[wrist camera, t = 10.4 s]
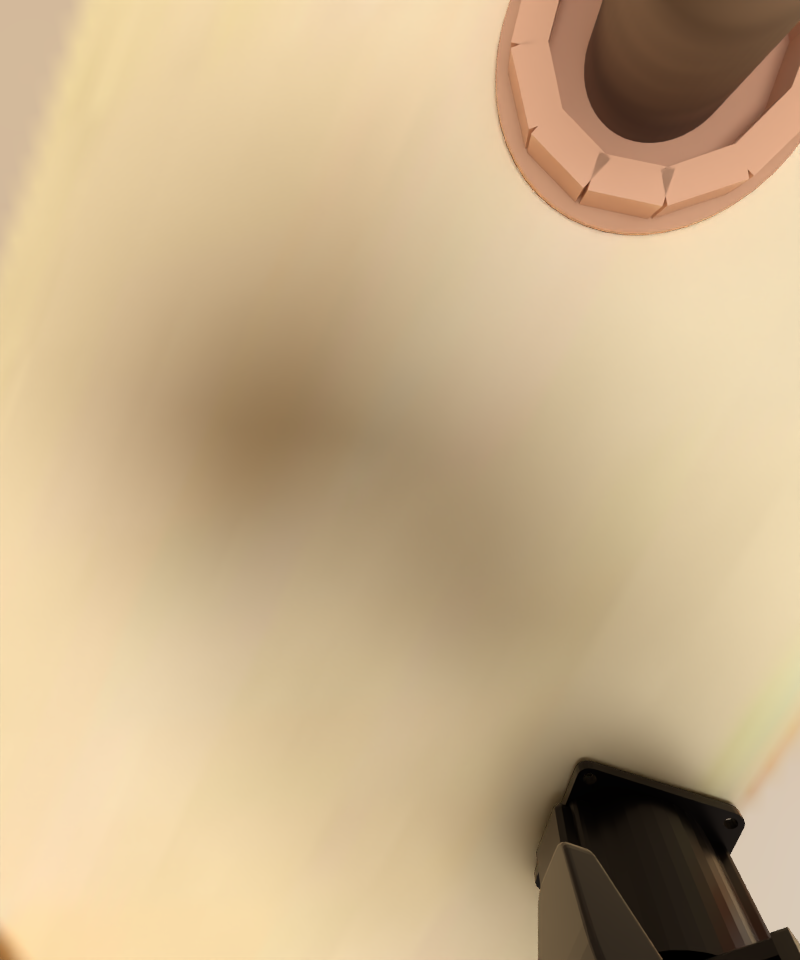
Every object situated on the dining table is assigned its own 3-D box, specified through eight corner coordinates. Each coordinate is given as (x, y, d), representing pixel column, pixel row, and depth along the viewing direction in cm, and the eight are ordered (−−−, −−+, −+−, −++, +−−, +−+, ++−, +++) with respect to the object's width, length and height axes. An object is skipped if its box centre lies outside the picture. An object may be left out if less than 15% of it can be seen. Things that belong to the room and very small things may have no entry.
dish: (898, -105, 14) (957, -170, 12) (755, 264, 16) (787, 253, 15) (549, -159, 15) (557, -228, 13) (461, 199, 17) (458, 181, 16)
